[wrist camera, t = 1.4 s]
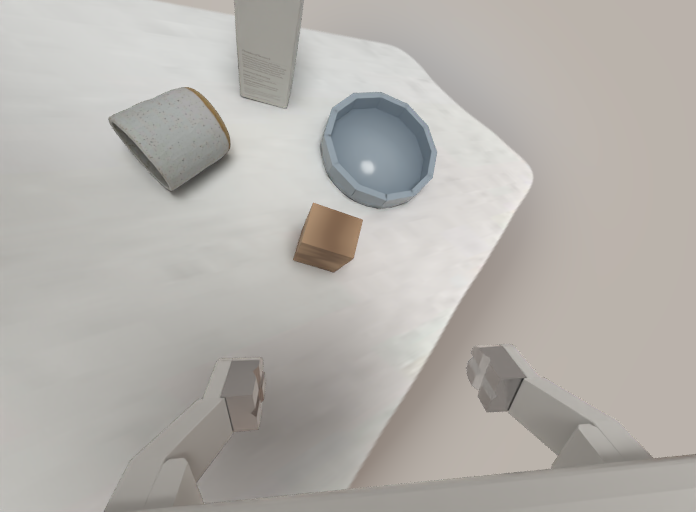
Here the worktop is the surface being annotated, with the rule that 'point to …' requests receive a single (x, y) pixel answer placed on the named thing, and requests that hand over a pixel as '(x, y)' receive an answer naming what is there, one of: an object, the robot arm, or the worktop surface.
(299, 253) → the walnut block
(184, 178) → the ceramic mug
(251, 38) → the skincare box
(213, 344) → the worktop surface
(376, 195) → the slate bowl
